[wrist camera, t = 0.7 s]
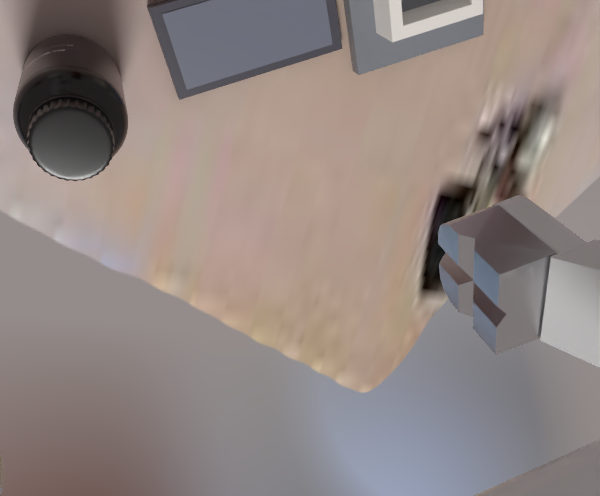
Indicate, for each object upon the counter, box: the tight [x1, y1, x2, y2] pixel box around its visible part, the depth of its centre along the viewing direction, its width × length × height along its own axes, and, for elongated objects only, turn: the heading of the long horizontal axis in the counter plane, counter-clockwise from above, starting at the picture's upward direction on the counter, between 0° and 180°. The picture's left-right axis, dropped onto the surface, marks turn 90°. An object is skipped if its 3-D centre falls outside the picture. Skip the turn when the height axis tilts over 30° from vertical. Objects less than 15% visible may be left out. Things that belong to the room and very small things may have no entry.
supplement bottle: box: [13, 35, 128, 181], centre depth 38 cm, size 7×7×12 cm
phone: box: [147, 0, 342, 100], centre depth 44 cm, size 14×7×1 cm, turn 101°
